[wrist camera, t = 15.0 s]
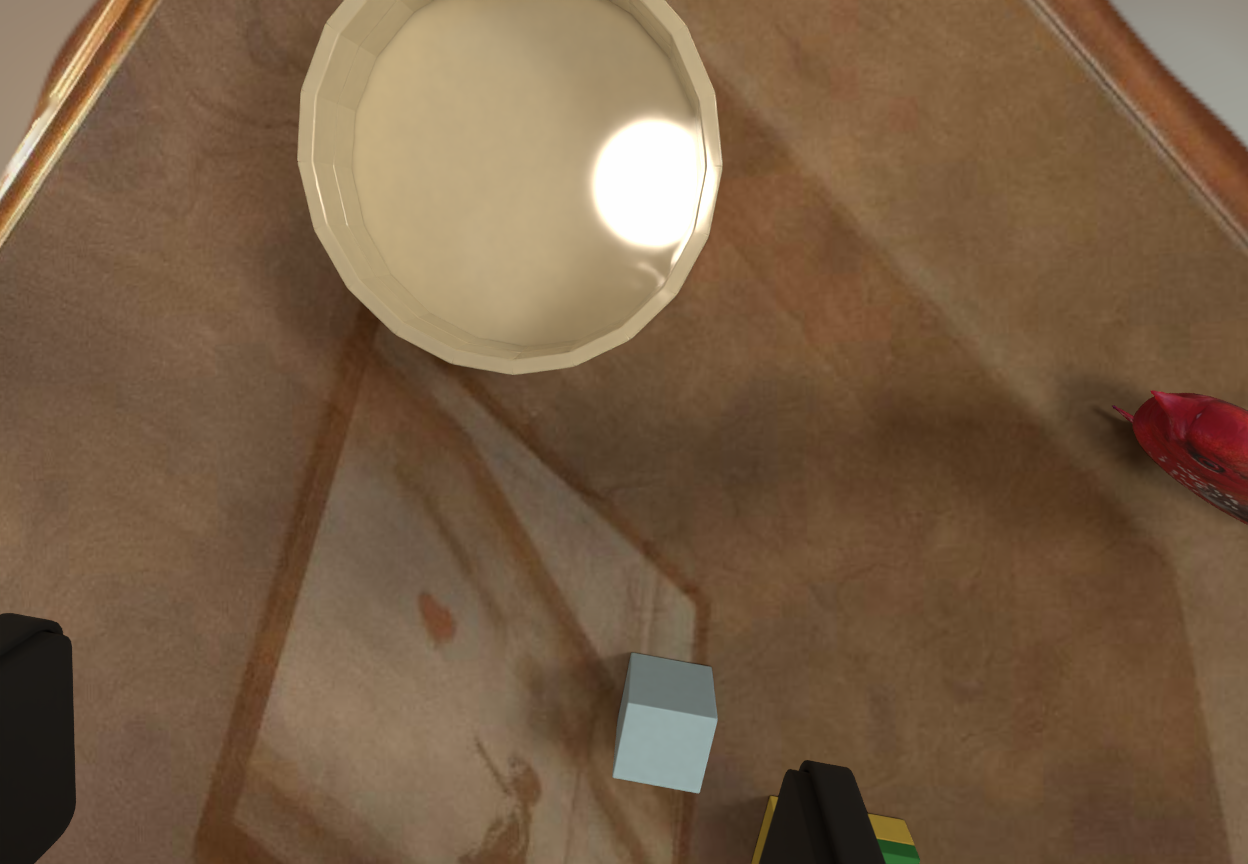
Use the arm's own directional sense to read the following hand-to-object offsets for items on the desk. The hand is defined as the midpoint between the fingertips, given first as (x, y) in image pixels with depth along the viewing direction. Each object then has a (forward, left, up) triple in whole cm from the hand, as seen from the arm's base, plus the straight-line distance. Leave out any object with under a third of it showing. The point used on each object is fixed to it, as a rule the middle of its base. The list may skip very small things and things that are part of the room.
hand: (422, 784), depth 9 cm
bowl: (-4, +9, -24) cm, 26 cm away
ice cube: (+6, -14, -24) cm, 28 cm away
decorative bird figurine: (+26, +2, -24) cm, 36 cm away
